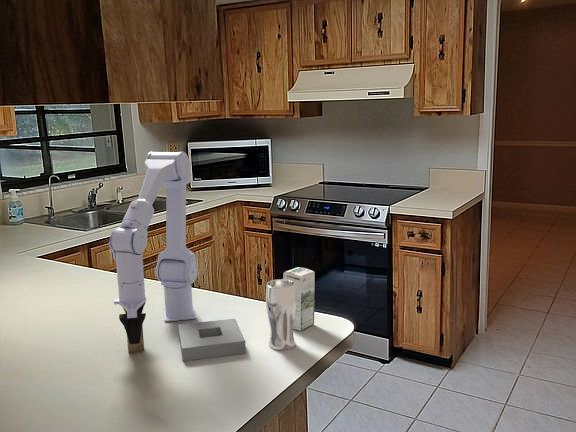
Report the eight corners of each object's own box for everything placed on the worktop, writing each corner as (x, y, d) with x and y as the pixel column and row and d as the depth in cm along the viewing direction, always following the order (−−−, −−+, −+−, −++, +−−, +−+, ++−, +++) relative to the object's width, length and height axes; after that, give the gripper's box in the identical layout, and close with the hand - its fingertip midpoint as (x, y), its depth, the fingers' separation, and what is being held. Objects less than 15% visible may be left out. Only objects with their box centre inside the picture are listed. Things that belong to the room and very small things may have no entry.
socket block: (178, 336, 134) (178, 324, 133) (235, 329, 137) (235, 318, 136) (182, 361, 120) (181, 348, 120) (245, 353, 124) (245, 340, 123)
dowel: (128, 347, 128) (125, 315, 126) (144, 345, 128) (141, 313, 127) (127, 354, 124) (125, 320, 123) (144, 352, 125) (141, 319, 124)
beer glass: (271, 353, 123) (269, 289, 121) (264, 340, 130) (262, 280, 127) (300, 349, 125) (299, 286, 122) (292, 337, 132) (291, 277, 129)
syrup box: (297, 319, 143) (296, 266, 140) (315, 324, 139) (314, 270, 136) (283, 326, 139) (282, 271, 136) (301, 332, 135) (300, 275, 132)
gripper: (114, 272, 129) (118, 326, 132) (110, 291, 115) (115, 351, 118) (144, 270, 131) (148, 323, 133) (144, 288, 117) (148, 348, 119)
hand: (135, 336), depth 126 cm, fingers open, 7 cm apart
